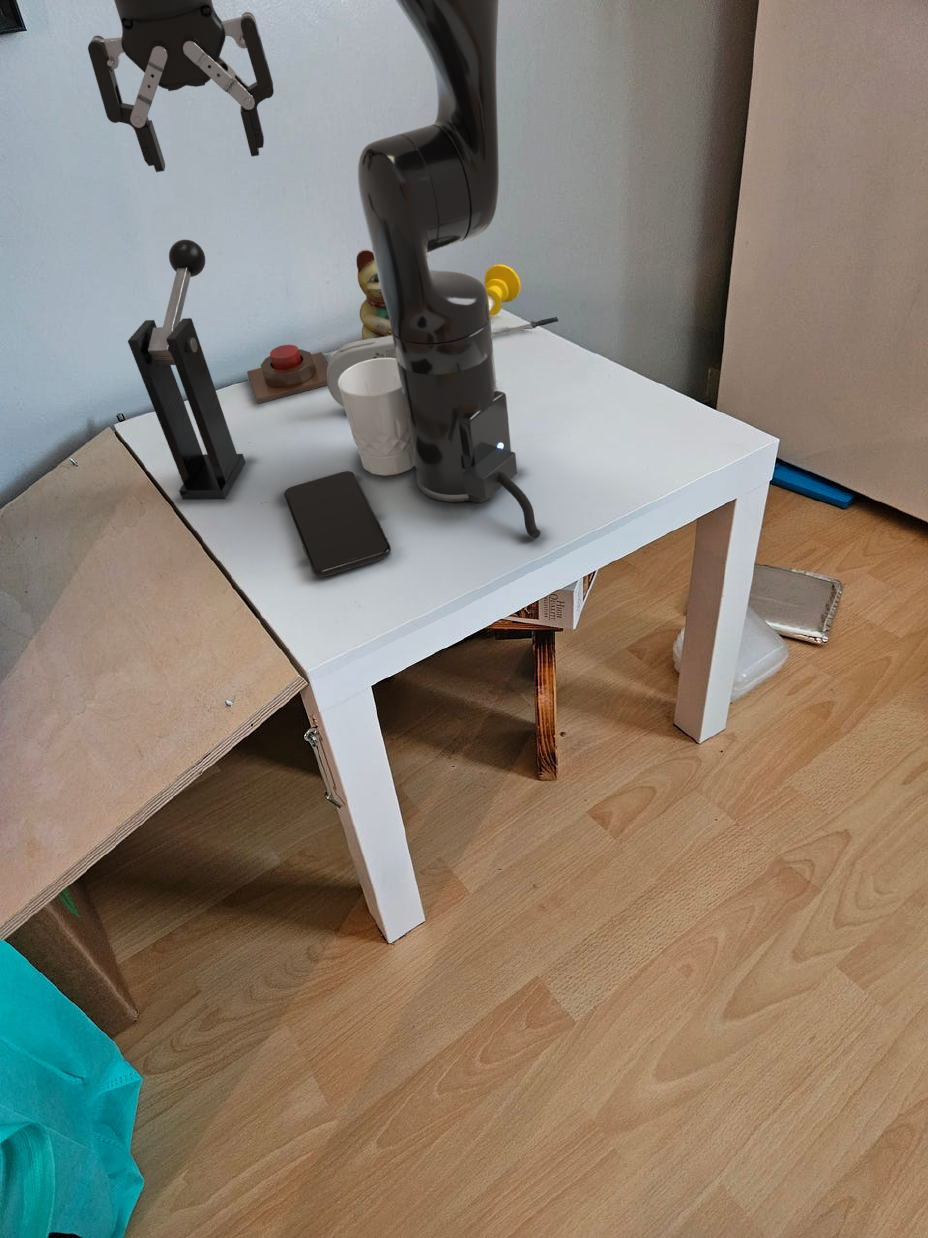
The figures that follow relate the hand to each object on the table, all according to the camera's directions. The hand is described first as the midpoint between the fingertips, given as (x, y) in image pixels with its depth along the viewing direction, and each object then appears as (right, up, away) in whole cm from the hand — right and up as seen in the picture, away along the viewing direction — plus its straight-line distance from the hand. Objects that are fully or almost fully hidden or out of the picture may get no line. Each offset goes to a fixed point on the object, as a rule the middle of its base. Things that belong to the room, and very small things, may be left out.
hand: (208, 161), depth 82 cm
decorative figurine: (+15, -7, +35) cm, 39 cm away
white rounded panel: (+17, -15, +27) cm, 35 cm away
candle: (+28, +5, +42) cm, 51 cm away
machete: (+28, -6, +36) cm, 46 cm away
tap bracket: (-5, -26, +19) cm, 32 cm away
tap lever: (-6, -10, +12) cm, 16 cm away
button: (+1, -9, +33) cm, 34 cm away
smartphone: (+10, -32, +10) cm, 35 cm away
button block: (+1, -11, +34) cm, 36 cm away
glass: (+15, -24, +18) cm, 33 cm away
